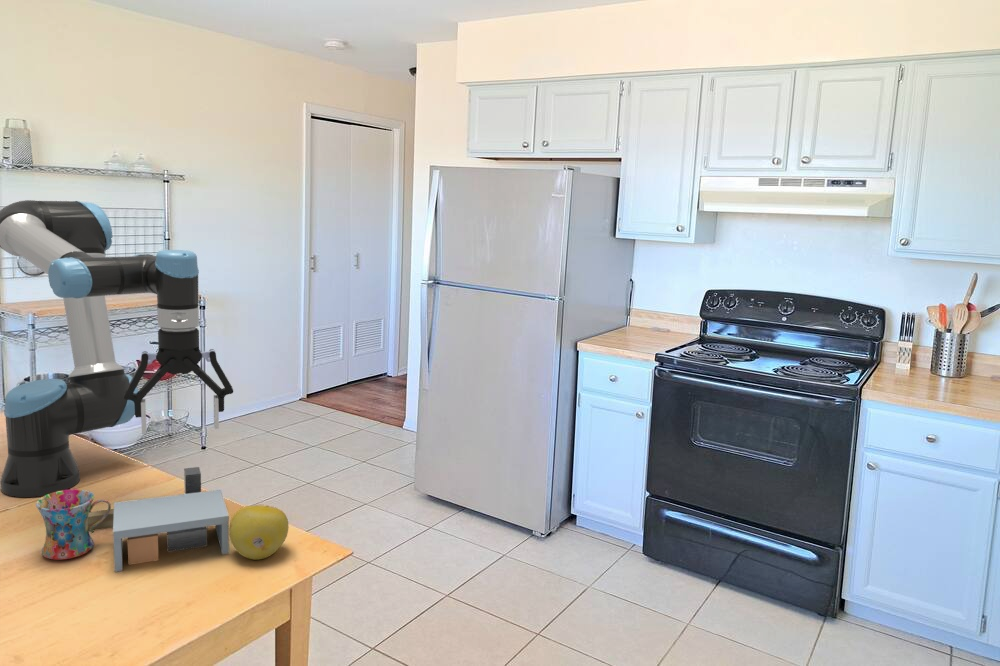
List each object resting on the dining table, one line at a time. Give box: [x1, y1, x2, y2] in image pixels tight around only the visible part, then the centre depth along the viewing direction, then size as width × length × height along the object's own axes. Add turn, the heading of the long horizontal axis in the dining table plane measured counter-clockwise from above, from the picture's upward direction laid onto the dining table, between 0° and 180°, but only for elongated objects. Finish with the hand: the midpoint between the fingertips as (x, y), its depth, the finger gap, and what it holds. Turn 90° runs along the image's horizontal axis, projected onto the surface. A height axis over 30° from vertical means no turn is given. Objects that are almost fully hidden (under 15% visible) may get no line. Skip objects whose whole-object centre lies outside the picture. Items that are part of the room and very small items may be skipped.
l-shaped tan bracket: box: [88, 508, 114, 531], centre depth 145 cm, size 10×3×7 cm, turn 117°
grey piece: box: [166, 466, 208, 553], centre depth 148 cm, size 19×7×9 cm, turn 27°
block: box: [127, 533, 159, 565], centre depth 136 cm, size 5×5×5 cm
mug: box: [35, 488, 112, 561], centre depth 136 cm, size 12×9×11 cm
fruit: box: [229, 503, 289, 561], centre depth 139 cm, size 10×11×10 cm
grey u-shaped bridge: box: [112, 489, 230, 573], centre depth 139 cm, size 13×19×8 cm
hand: (180, 429), depth 149 cm, fingers open, 13 cm apart
